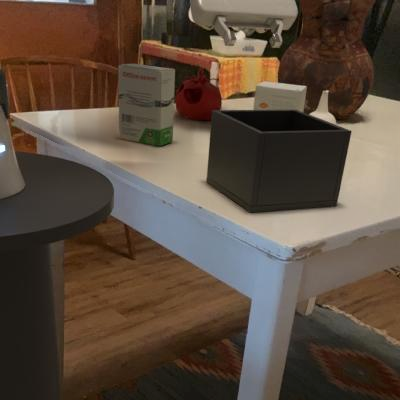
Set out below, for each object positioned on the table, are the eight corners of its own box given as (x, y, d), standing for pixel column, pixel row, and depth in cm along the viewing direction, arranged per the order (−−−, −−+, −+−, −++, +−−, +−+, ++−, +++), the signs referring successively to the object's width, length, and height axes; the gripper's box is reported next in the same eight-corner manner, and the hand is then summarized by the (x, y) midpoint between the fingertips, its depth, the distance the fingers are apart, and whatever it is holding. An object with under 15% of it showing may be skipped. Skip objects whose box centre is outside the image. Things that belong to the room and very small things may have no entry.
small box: (298, 149, 109) (308, 85, 104) (292, 156, 105) (302, 90, 99) (255, 143, 111) (262, 80, 105) (248, 149, 107) (255, 84, 101)
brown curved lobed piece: (259, 103, 146) (273, -19, 133) (335, 105, 152) (357, -12, 139) (298, 124, 129) (319, -15, 115) (383, 125, 135) (413, -7, 121)
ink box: (174, 142, 107) (177, 67, 101) (159, 147, 103) (162, 70, 97) (132, 133, 110) (133, 61, 104) (117, 138, 106) (117, 63, 100)
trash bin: (250, 212, 78) (259, 133, 73) (206, 181, 88) (211, 110, 83) (336, 205, 83) (351, 130, 78) (285, 177, 93) (296, 109, 88)
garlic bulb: (332, 131, 125) (339, 89, 121) (336, 137, 120) (344, 94, 116) (301, 128, 125) (308, 86, 121) (304, 135, 120) (311, 91, 116)
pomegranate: (203, 111, 133) (206, 64, 128) (230, 121, 126) (234, 72, 121) (164, 113, 128) (166, 64, 123) (190, 123, 121) (193, 72, 116)
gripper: (188, -43, 103) (208, 29, 101) (290, -33, 111) (310, 34, 109) (177, -14, 109) (195, 55, 107) (275, -6, 116) (293, 58, 115)
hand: (254, 44), depth 108 cm, fingers open, 8 cm apart
